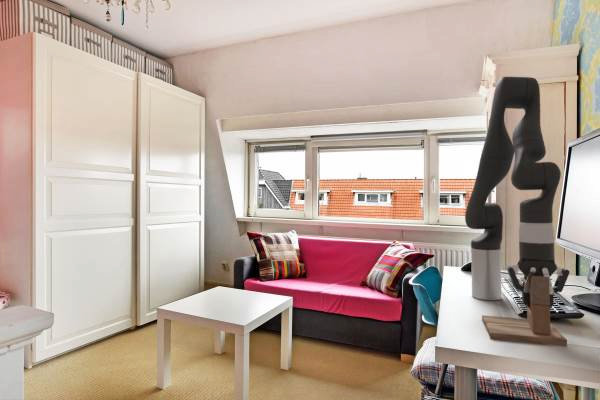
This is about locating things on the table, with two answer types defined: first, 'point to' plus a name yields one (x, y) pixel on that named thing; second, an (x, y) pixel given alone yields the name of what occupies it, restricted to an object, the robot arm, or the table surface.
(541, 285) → the tan cylinder-on-bar part
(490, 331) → the board
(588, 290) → the table surface
